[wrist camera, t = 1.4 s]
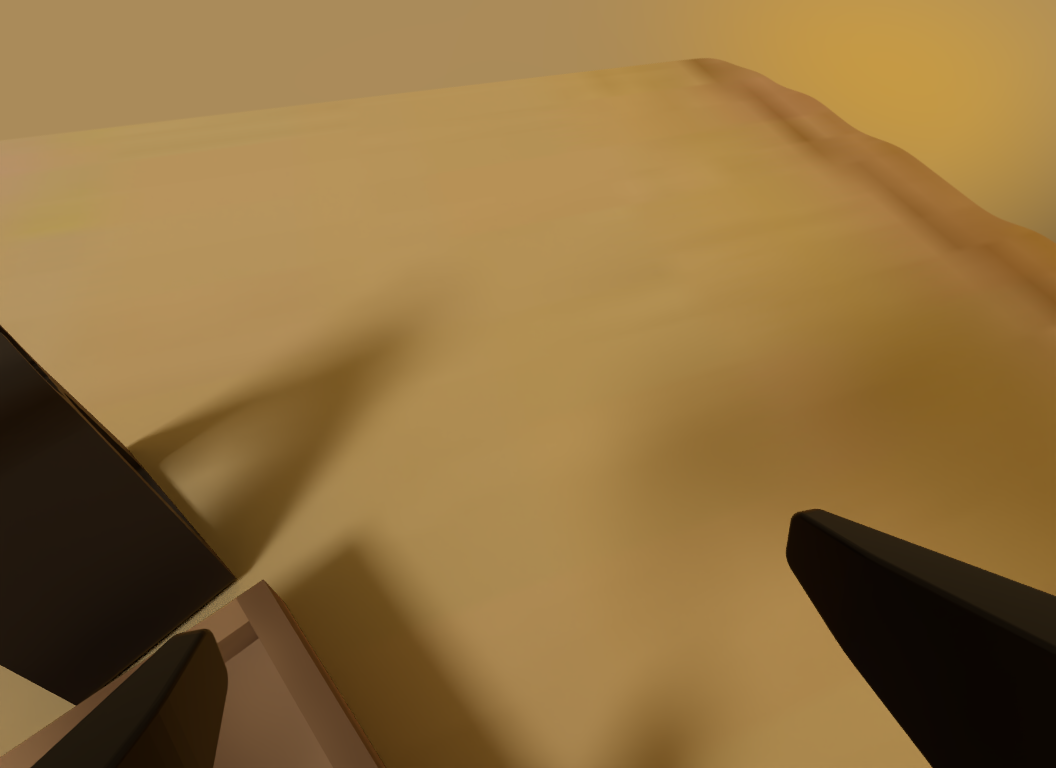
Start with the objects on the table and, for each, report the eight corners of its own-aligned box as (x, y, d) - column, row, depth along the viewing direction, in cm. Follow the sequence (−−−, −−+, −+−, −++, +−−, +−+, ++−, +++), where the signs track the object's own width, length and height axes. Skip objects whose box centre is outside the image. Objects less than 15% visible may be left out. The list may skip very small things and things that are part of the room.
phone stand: (239, 581, 22) (77, 425, 12) (81, 708, 19) (-297, 631, 9) (128, 447, 25) (-73, 238, 15) (-24, 538, 22) (-394, 347, 12)
